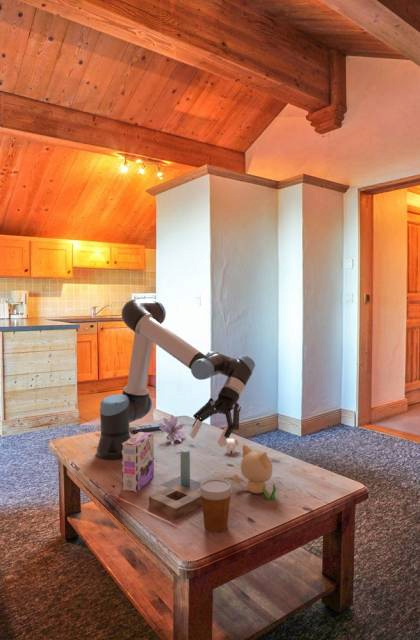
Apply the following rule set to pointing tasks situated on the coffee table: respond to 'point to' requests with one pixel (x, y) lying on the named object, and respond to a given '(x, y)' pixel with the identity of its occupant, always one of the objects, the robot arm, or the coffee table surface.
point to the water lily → (173, 429)
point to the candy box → (137, 461)
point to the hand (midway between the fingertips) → (205, 440)
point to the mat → (193, 484)
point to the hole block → (170, 506)
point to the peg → (185, 468)
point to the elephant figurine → (231, 445)
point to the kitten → (255, 471)
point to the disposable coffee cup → (215, 504)
